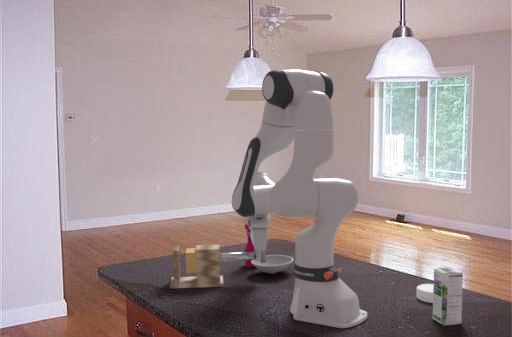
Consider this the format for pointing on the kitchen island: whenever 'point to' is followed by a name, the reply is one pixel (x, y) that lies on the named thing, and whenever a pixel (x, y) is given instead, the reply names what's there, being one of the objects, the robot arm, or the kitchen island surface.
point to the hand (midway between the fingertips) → (258, 257)
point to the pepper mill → (249, 246)
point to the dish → (273, 263)
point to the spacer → (191, 260)
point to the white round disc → (425, 292)
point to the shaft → (242, 256)
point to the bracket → (199, 268)
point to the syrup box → (447, 296)
